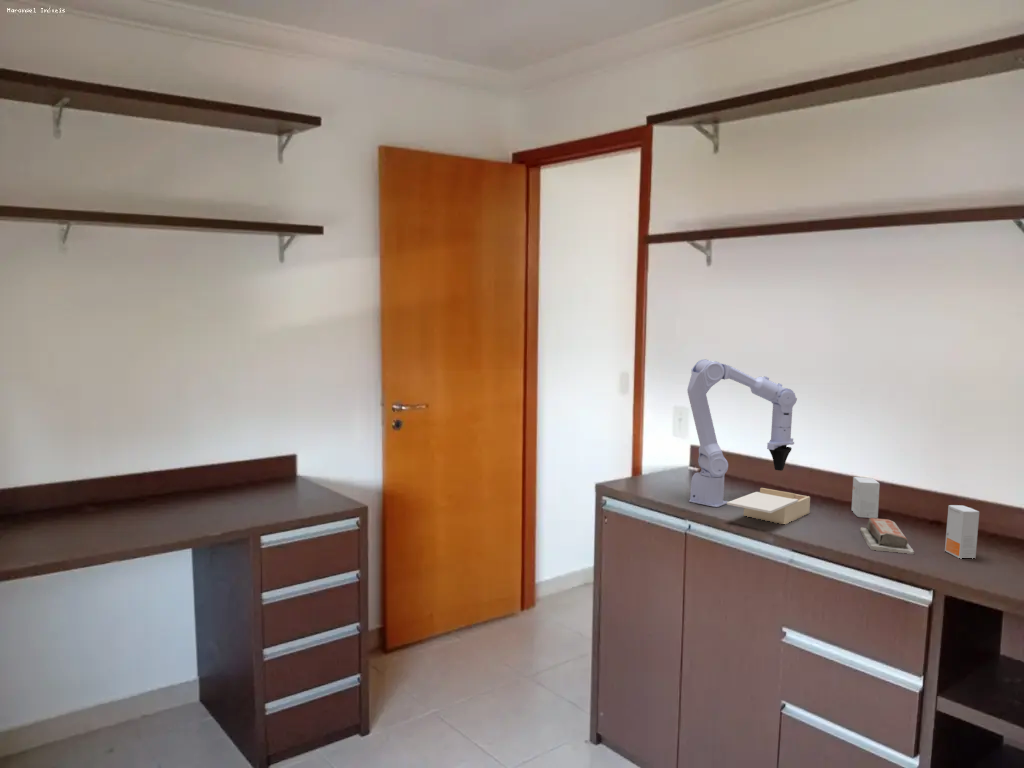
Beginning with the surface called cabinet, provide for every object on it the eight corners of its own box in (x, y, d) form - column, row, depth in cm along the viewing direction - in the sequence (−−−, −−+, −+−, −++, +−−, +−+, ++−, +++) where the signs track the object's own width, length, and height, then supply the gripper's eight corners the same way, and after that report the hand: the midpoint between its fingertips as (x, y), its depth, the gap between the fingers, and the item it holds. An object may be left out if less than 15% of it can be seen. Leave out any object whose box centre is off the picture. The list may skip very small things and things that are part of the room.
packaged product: (860, 515, 209) (900, 519, 206) (859, 532, 209) (899, 536, 207) (871, 533, 192) (915, 537, 189) (870, 552, 192) (914, 556, 189)
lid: (726, 504, 213) (727, 497, 213) (757, 493, 228) (757, 486, 228) (770, 513, 205) (770, 506, 205) (799, 501, 219) (799, 494, 219)
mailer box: (743, 516, 221) (744, 499, 221) (770, 505, 235) (770, 489, 234) (784, 525, 213) (785, 507, 213) (809, 513, 227) (810, 496, 226)
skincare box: (943, 551, 192) (947, 504, 191) (959, 551, 193) (963, 504, 192) (959, 559, 186) (963, 511, 185) (976, 559, 187) (980, 511, 186)
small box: (877, 519, 222) (880, 483, 221) (857, 517, 223) (859, 482, 222) (870, 512, 230) (873, 477, 229) (850, 510, 231) (853, 476, 230)
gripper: (784, 430, 228) (781, 475, 229) (803, 425, 238) (801, 468, 240) (761, 427, 233) (759, 471, 234) (781, 423, 243) (779, 465, 245)
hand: (778, 470), depth 237 cm, fingers closed
